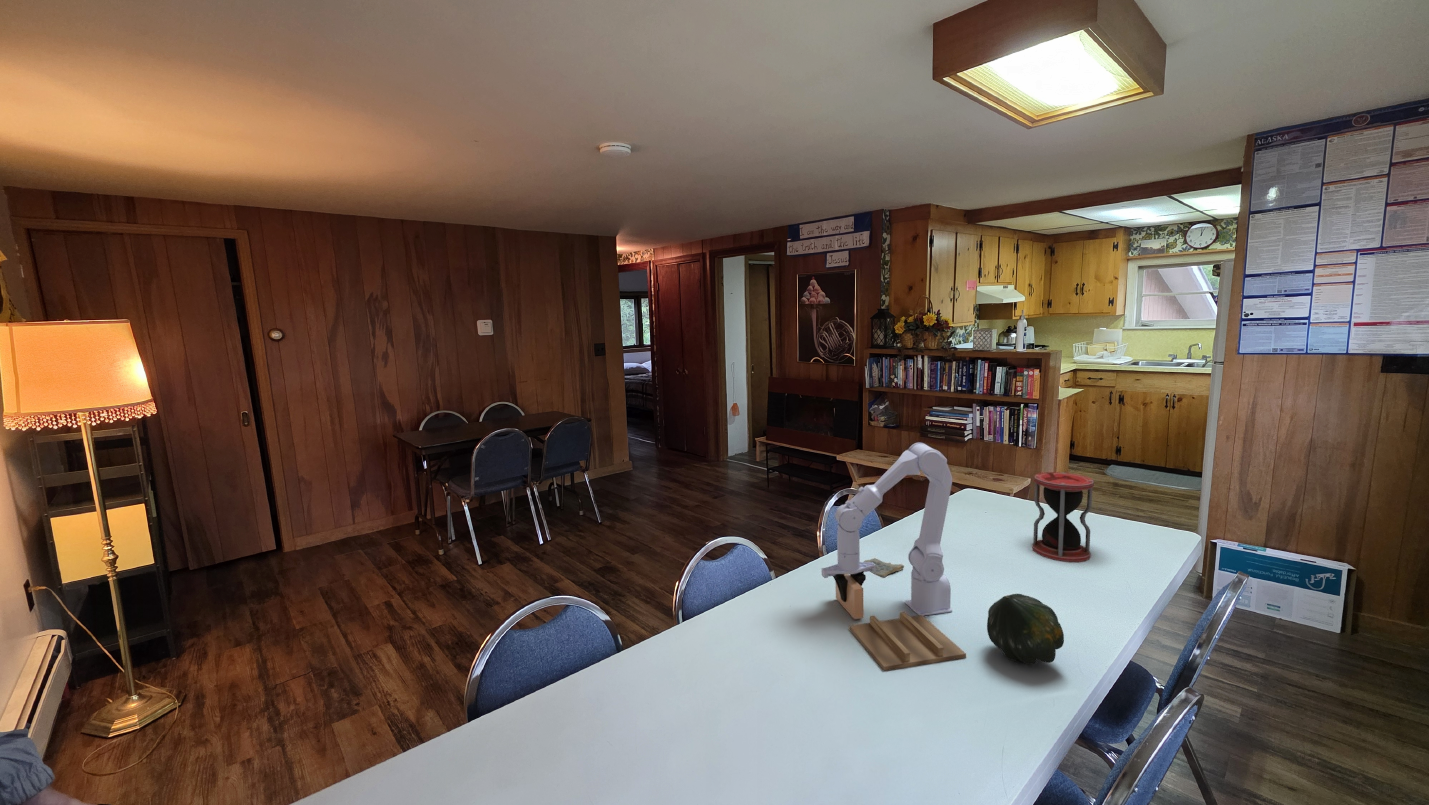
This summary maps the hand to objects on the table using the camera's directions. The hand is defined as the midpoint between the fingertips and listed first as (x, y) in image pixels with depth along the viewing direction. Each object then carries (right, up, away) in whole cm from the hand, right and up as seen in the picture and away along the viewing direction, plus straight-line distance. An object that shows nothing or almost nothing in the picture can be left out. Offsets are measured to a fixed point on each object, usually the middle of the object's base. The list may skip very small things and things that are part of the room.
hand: (849, 599), depth 150 cm
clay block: (0, -2, 0) cm, 2 cm away
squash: (+33, -5, -24) cm, 41 cm away
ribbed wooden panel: (+9, -5, -16) cm, 19 cm away
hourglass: (+76, +4, +32) cm, 83 cm away
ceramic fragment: (+21, +1, +27) cm, 34 cm away
